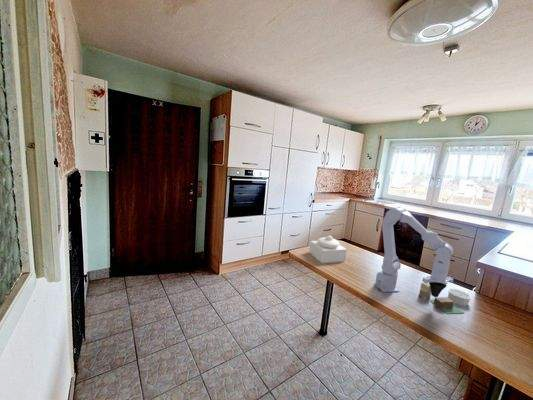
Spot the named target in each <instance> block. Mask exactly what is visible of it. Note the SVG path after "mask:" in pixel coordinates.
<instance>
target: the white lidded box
mask: <svg viewBox="0 0 533 400" xmlns="http://www.w3.org/2000/svg"><path fill="white" fill-rule="evenodd" d="M347 251H348V249H347V248H346V247H344V246H342V245H341V243H340V242H339V241H338V239H335V238H333V236H332V235H327V236H324V237H319V238H318V239H317V240H311V241H310V242H309V251H308V253H309V254H310V255H312V256H313V257H314V258H315V259H317V261H318V262H320V263H321V264H327V263H328V264H330V263H342V262H345V261H346V253H347Z"/></svg>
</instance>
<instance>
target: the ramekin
mask: <svg viewBox="0 0 533 400" xmlns="http://www.w3.org/2000/svg"><path fill="white" fill-rule="evenodd" d="M447 295H448V296H447V297H448V298H449V299H451V300H452V301H454V304H456V305H459V306H464V307H465V306H469V304H470V300H471V299H472V296H471V295H470V294H469V293H466V292H465V291H463V290H460V289H456V288H449V289H448V293H447Z"/></svg>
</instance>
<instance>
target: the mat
mask: <svg viewBox="0 0 533 400" xmlns="http://www.w3.org/2000/svg"><path fill="white" fill-rule="evenodd" d="M434 300H435V299H429V302H430V303H432V304H433V305H434ZM440 310H442V311H443V312H444V313H445V314H447V315H452V314H465V312H464V311H463V310H461V309H459V308H458V307H457V306H456V305H454V304H453V308H449V309H440Z"/></svg>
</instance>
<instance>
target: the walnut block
mask: <svg viewBox="0 0 533 400" xmlns="http://www.w3.org/2000/svg"><path fill="white" fill-rule="evenodd" d="M433 300H434V304H433V305H434V306H435V307H436V308H438V309H439V310H441V309H449V308H453V305H454V304H455V303H454V301H452V300H451V299H449V298H448V296H446V297H434V299H433Z"/></svg>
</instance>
